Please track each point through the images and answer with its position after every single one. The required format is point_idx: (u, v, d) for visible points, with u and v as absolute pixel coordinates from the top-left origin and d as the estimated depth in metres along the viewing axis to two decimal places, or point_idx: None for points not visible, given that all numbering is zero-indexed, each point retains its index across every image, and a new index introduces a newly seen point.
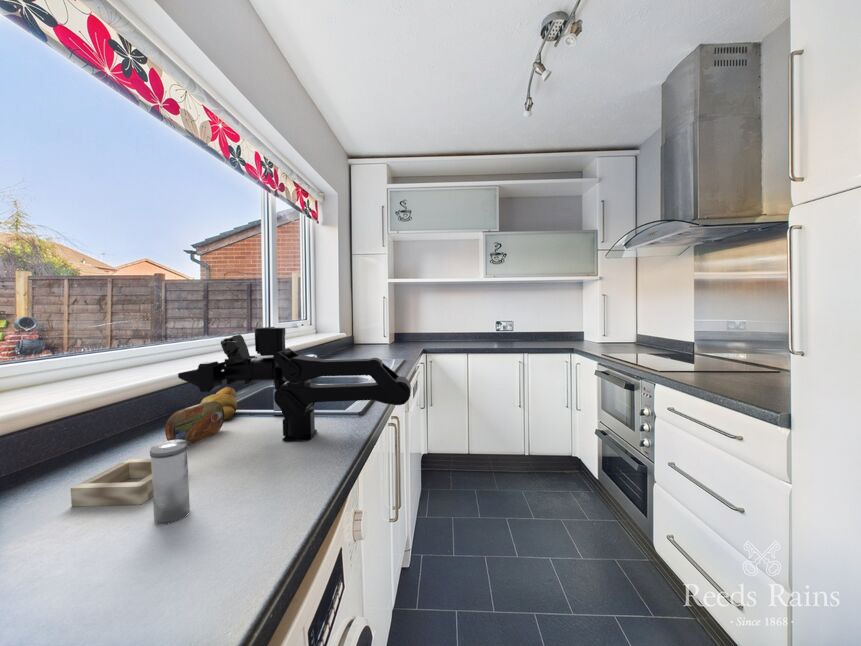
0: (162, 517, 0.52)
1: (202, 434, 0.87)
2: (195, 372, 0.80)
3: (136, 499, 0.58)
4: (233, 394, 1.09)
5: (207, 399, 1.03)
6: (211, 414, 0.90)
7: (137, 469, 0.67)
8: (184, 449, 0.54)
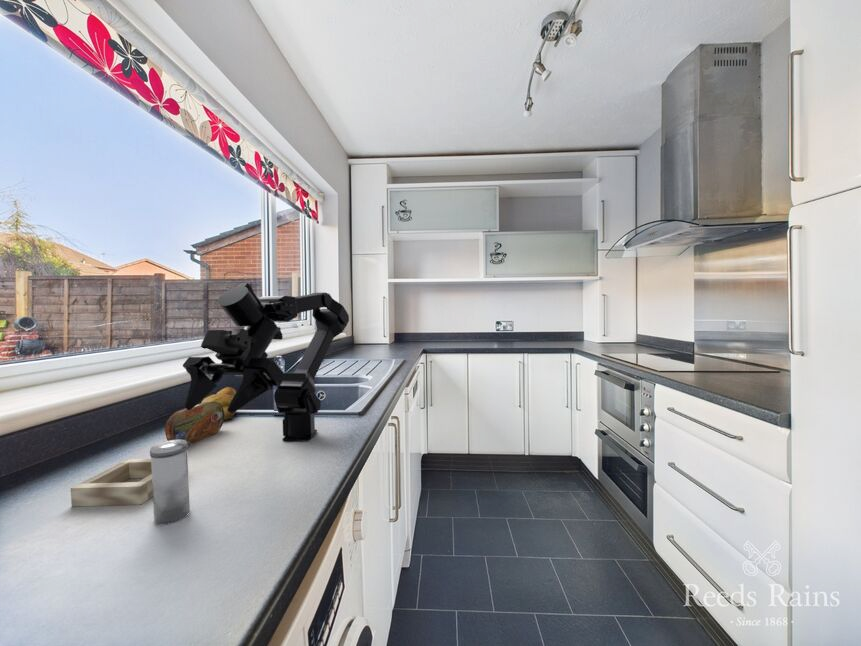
0: (162, 517, 0.52)
1: (202, 434, 0.87)
2: (248, 386, 0.63)
3: (136, 499, 0.58)
4: (234, 394, 1.09)
5: (207, 399, 1.03)
6: (211, 414, 0.90)
7: (137, 469, 0.67)
8: (184, 449, 0.54)
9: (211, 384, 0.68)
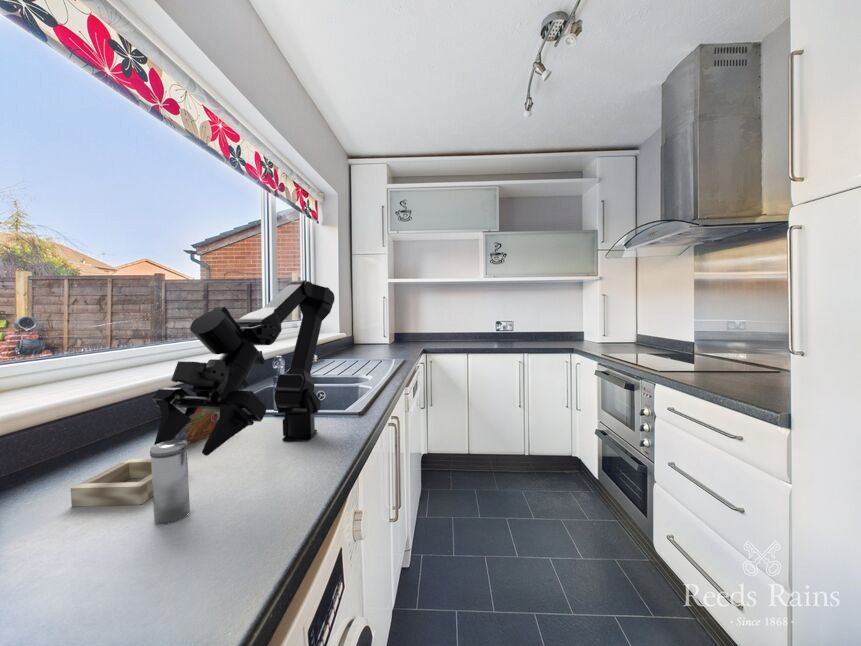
0: (162, 517, 0.52)
1: (202, 434, 0.87)
2: (225, 423, 0.57)
3: (136, 499, 0.58)
4: None
5: None
6: (211, 414, 0.90)
7: (137, 469, 0.67)
8: (184, 449, 0.54)
9: (184, 418, 0.62)
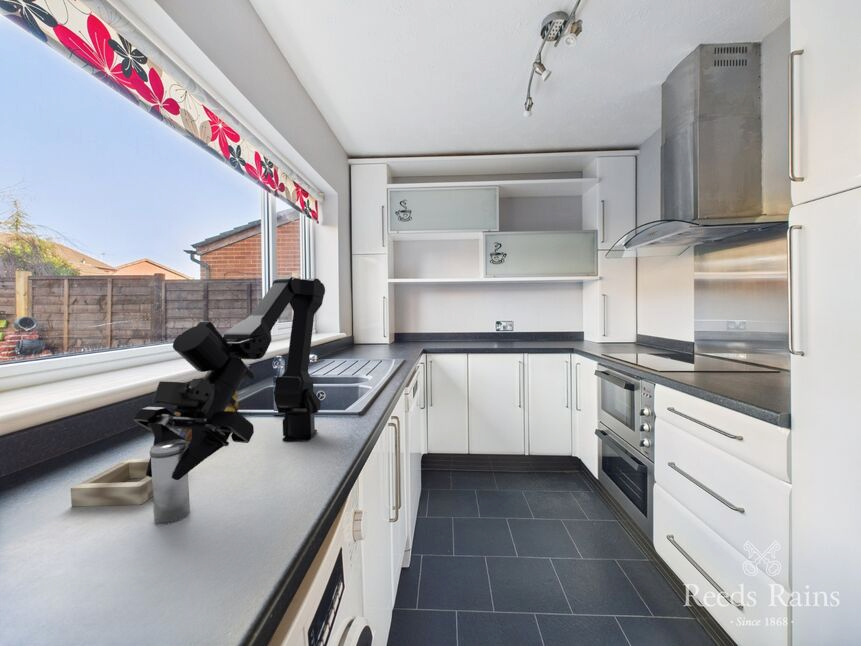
0: (162, 517, 0.52)
1: None
2: (198, 446, 0.54)
3: (136, 499, 0.58)
4: (235, 394, 1.08)
5: None
6: None
7: (137, 469, 0.67)
8: (184, 449, 0.54)
9: None
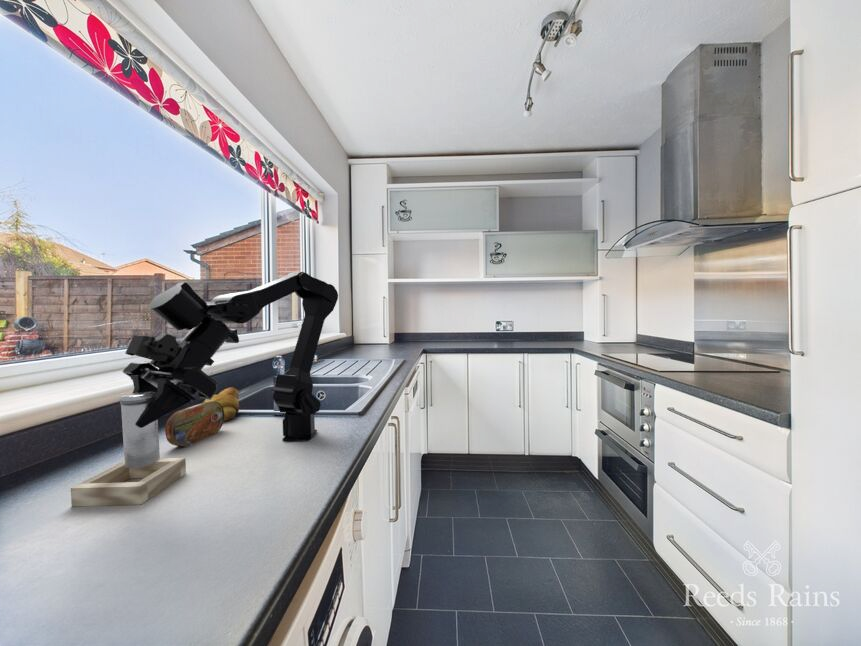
0: (129, 461, 0.55)
1: (202, 434, 0.87)
2: (161, 397, 0.57)
3: (136, 499, 0.58)
4: (236, 394, 1.08)
5: None
6: (211, 414, 0.90)
7: (137, 469, 0.67)
8: (150, 400, 0.57)
9: None
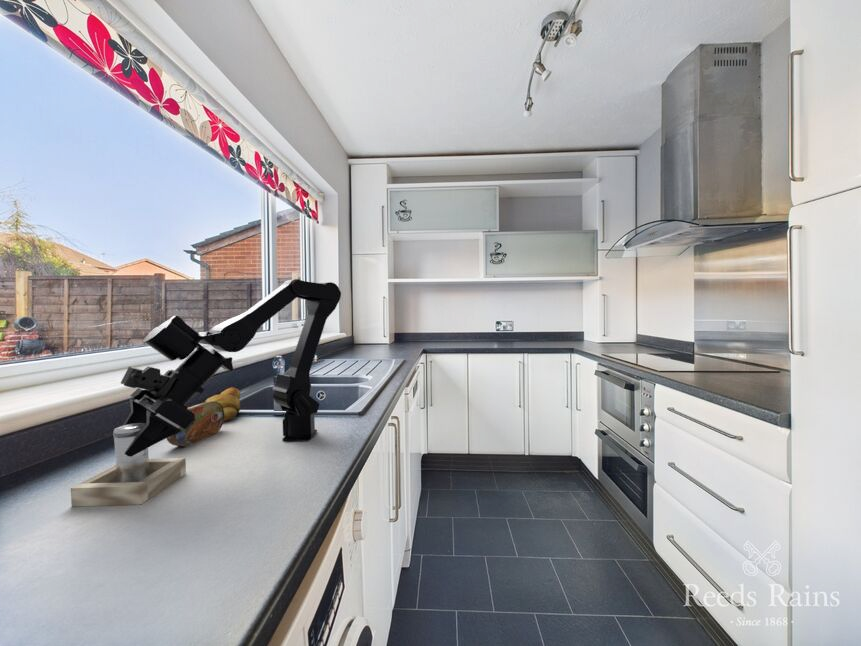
0: None
1: (202, 434, 0.87)
2: (148, 429, 0.60)
3: (136, 499, 0.58)
4: (237, 395, 1.08)
5: (210, 399, 1.03)
6: (211, 414, 0.90)
7: None
8: (137, 433, 0.62)
9: None
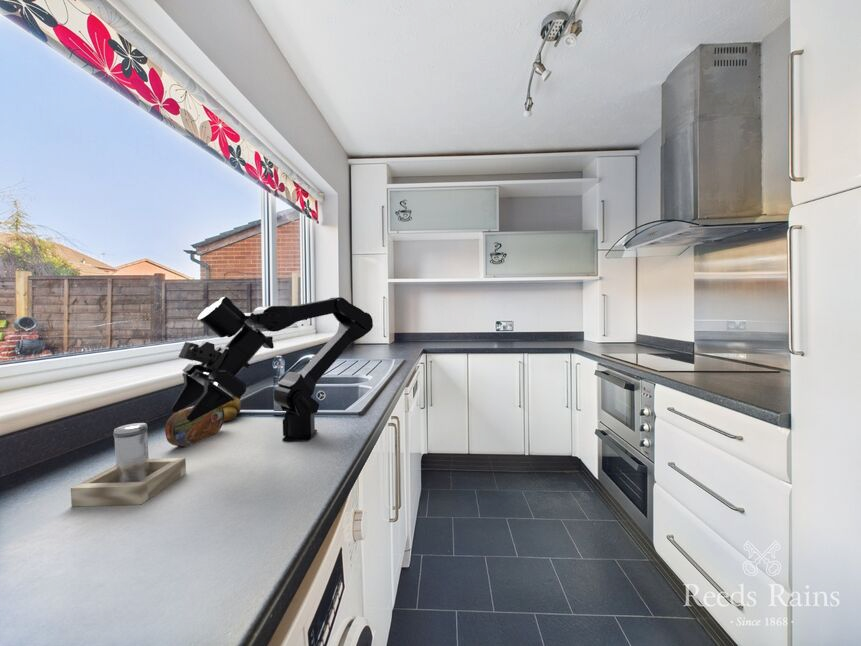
0: None
1: (202, 434, 0.87)
2: (206, 396, 0.66)
3: (136, 499, 0.58)
4: None
5: None
6: (211, 414, 0.90)
7: None
8: (137, 433, 0.62)
9: (203, 389, 0.76)
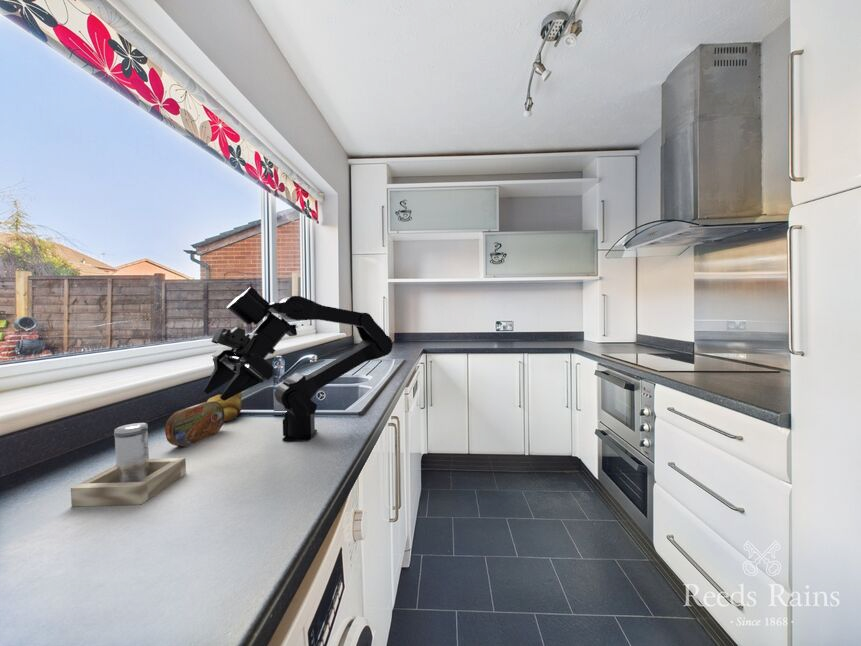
0: None
1: (202, 434, 0.87)
2: (238, 378, 0.71)
3: (136, 499, 0.58)
4: (238, 395, 1.08)
5: (212, 399, 1.03)
6: (211, 414, 0.90)
7: None
8: (138, 433, 0.62)
9: (231, 373, 0.81)
